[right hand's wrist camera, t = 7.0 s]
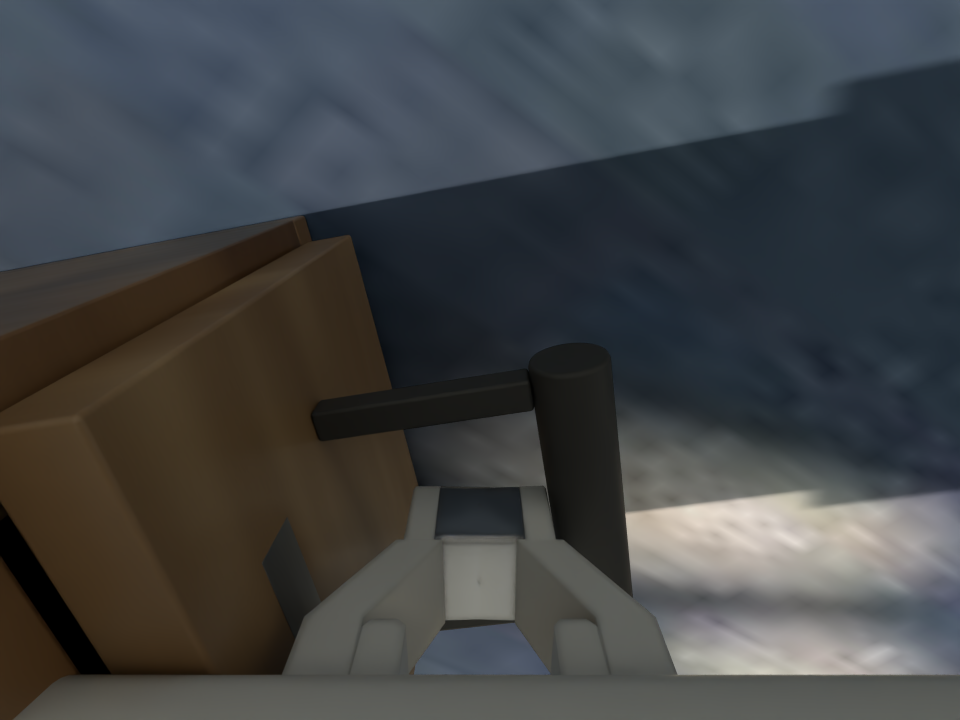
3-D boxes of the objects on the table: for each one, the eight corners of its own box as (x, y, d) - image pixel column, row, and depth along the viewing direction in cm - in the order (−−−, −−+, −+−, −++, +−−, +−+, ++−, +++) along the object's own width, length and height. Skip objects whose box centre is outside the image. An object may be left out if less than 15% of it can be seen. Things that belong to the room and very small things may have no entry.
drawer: (559, 195, 13) (702, 317, 4) (598, 521, 17) (714, 949, 8) (-229, 340, 15) (-1268, 629, 6) (-35, 601, 19) (-504, 1011, 10)
